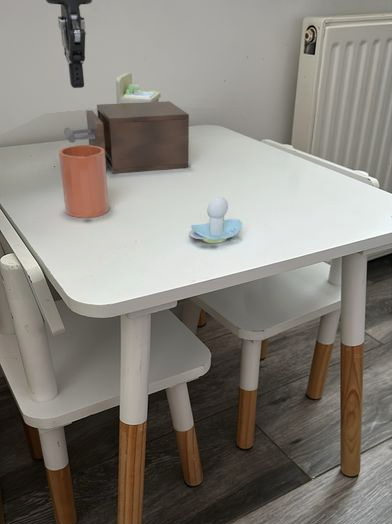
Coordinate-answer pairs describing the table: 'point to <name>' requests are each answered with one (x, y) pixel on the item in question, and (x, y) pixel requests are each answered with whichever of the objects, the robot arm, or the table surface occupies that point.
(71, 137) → the drawer
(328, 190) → the table surface
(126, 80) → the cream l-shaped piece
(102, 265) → the table surface
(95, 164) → the cup
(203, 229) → the pacifier
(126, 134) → the cabinet
